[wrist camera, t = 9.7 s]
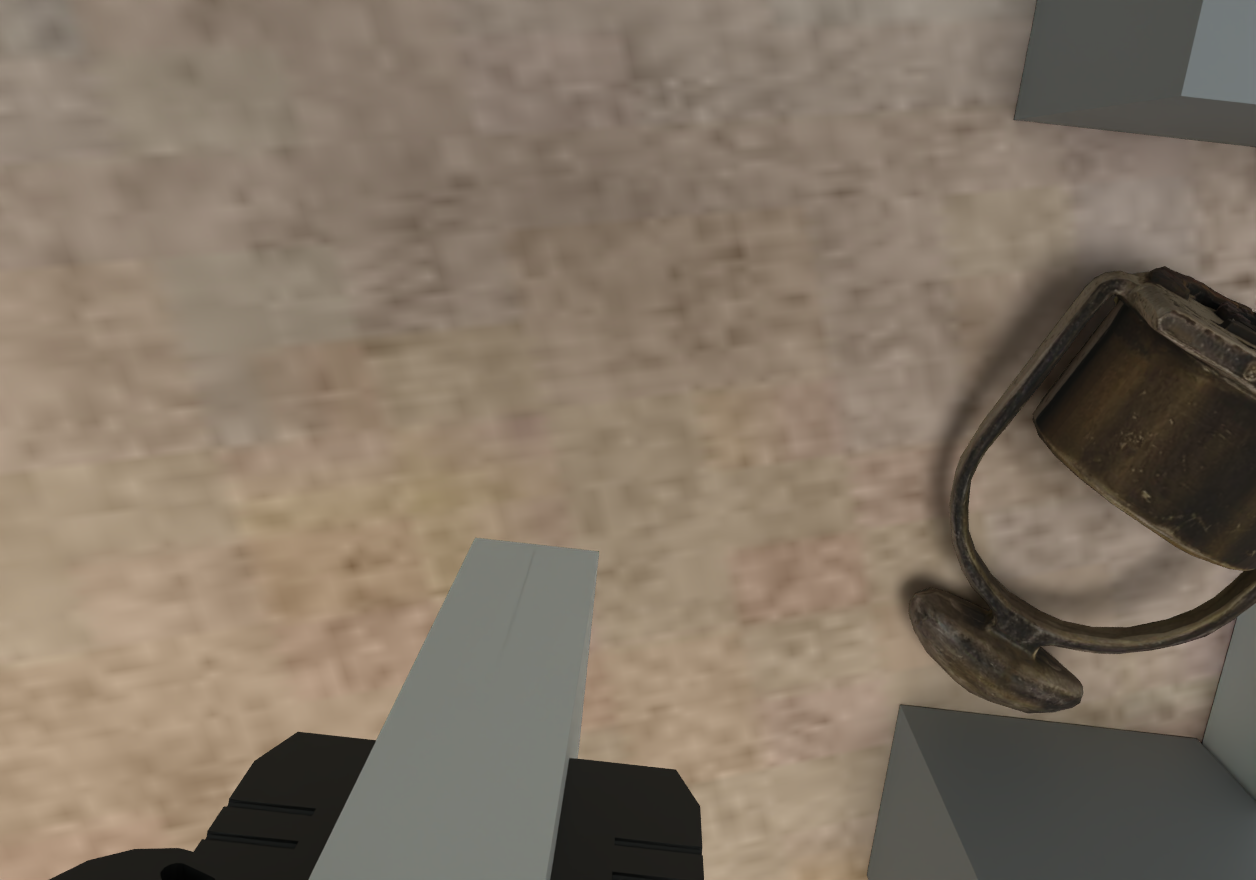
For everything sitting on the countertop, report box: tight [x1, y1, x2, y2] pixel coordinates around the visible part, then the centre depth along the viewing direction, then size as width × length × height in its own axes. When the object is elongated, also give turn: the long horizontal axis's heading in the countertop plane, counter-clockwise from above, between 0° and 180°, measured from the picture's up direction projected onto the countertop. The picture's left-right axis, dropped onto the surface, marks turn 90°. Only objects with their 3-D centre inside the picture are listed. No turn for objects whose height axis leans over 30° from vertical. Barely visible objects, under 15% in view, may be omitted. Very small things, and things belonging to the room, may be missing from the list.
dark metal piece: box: [908, 266, 1256, 713], centre depth 27 cm, size 7×13×10 cm
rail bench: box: [867, 0, 1256, 880], centre depth 25 cm, size 30×11×9 cm, turn 174°
